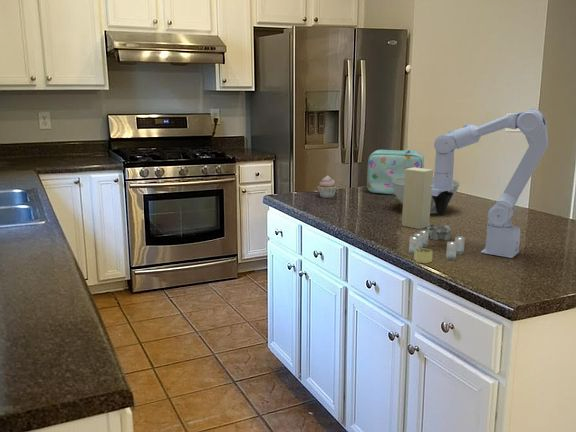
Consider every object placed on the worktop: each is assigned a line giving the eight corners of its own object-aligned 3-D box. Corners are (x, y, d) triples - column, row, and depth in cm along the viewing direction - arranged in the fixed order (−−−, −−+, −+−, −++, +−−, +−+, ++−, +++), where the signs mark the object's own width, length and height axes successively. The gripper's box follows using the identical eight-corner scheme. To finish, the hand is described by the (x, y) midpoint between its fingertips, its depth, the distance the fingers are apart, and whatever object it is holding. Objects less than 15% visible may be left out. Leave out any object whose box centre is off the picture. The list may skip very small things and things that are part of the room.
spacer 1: (419, 252, 176) (420, 236, 175) (415, 254, 174) (416, 238, 173) (411, 251, 178) (411, 235, 177) (407, 253, 176) (408, 237, 174)
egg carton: (425, 232, 201) (425, 221, 200) (447, 233, 200) (447, 222, 199) (428, 240, 191) (429, 228, 190) (452, 241, 190) (452, 229, 189)
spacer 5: (464, 252, 176) (466, 237, 175) (461, 254, 174) (463, 239, 173) (456, 251, 178) (457, 235, 177) (452, 253, 175) (454, 237, 174)
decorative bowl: (455, 220, 218) (457, 189, 215) (385, 215, 226) (386, 185, 223) (458, 206, 242) (460, 178, 240) (395, 202, 251) (396, 174, 248)
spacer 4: (457, 258, 171) (458, 242, 169) (453, 260, 168) (455, 244, 167) (448, 256, 172) (449, 240, 171) (444, 258, 170) (445, 242, 169)
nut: (433, 259, 169) (434, 249, 168) (430, 264, 165) (431, 253, 164) (415, 257, 171) (416, 247, 171) (412, 261, 167) (412, 251, 167)
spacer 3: (429, 245, 184) (430, 230, 183) (425, 247, 181) (426, 232, 180) (420, 244, 185) (421, 229, 184) (417, 246, 183) (418, 231, 182)
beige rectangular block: (431, 225, 209) (434, 169, 204) (420, 229, 204) (423, 171, 199) (411, 222, 214) (414, 166, 210) (401, 225, 209) (404, 169, 204)
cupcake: (331, 194, 268) (331, 173, 265) (341, 198, 259) (341, 176, 257) (313, 196, 264) (313, 174, 262) (322, 199, 256) (323, 177, 253)
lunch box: (425, 193, 270) (428, 148, 266) (423, 197, 261) (426, 150, 256) (369, 190, 278) (371, 146, 274) (365, 194, 269) (367, 148, 264)
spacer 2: (423, 248, 180) (424, 233, 179) (420, 250, 178) (421, 235, 177) (415, 247, 182) (416, 232, 181) (411, 249, 179) (412, 234, 178)
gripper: (439, 168, 188) (437, 209, 191) (422, 174, 176) (420, 217, 179) (461, 170, 184) (458, 211, 187) (444, 176, 172) (441, 220, 175)
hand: (440, 214), depth 183 cm, fingers closed
